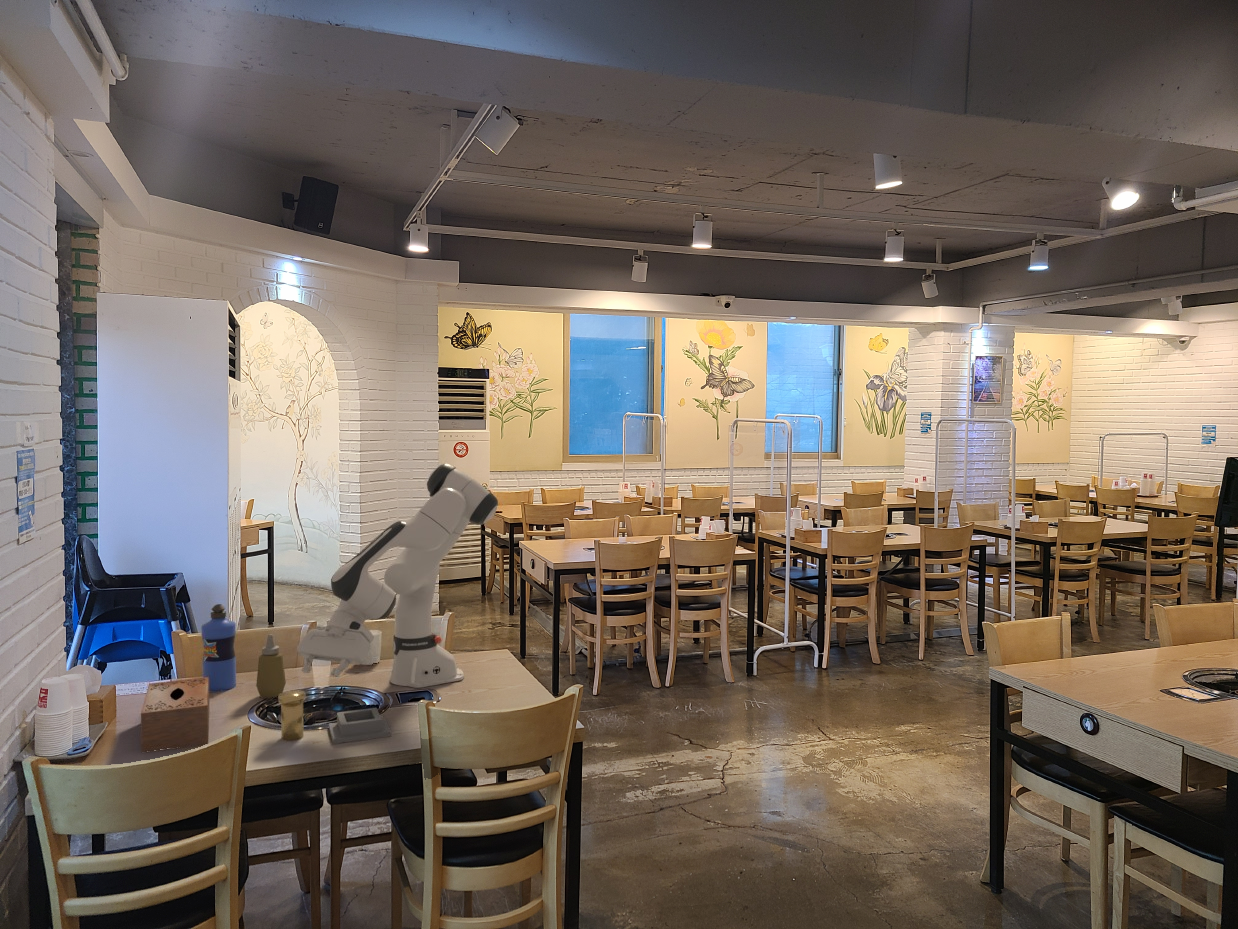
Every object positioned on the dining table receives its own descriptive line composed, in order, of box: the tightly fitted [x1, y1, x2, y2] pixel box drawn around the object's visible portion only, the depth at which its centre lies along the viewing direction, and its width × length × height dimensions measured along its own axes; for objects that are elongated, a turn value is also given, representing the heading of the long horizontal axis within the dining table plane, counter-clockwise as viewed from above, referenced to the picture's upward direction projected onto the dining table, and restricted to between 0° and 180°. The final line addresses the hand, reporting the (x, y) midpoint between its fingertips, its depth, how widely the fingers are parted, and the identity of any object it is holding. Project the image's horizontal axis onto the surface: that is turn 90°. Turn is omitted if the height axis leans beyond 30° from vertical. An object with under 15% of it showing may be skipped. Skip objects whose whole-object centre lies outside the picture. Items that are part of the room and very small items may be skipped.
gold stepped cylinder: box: [277, 689, 306, 742], centre depth 215 cm, size 6×6×11 cm
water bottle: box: [200, 603, 237, 693], centre depth 255 cm, size 9×9×25 cm
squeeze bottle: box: [255, 634, 287, 699], centre depth 247 cm, size 8×8×18 cm
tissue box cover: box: [140, 676, 211, 753], centre depth 219 cm, size 26×14×10 cm, turn 25°
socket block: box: [328, 707, 392, 745], centre depth 219 cm, size 14×12×4 cm
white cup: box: [360, 629, 382, 666], centre depth 283 cm, size 8×8×10 cm
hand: (319, 674), depth 223 cm, fingers open, 8 cm apart
